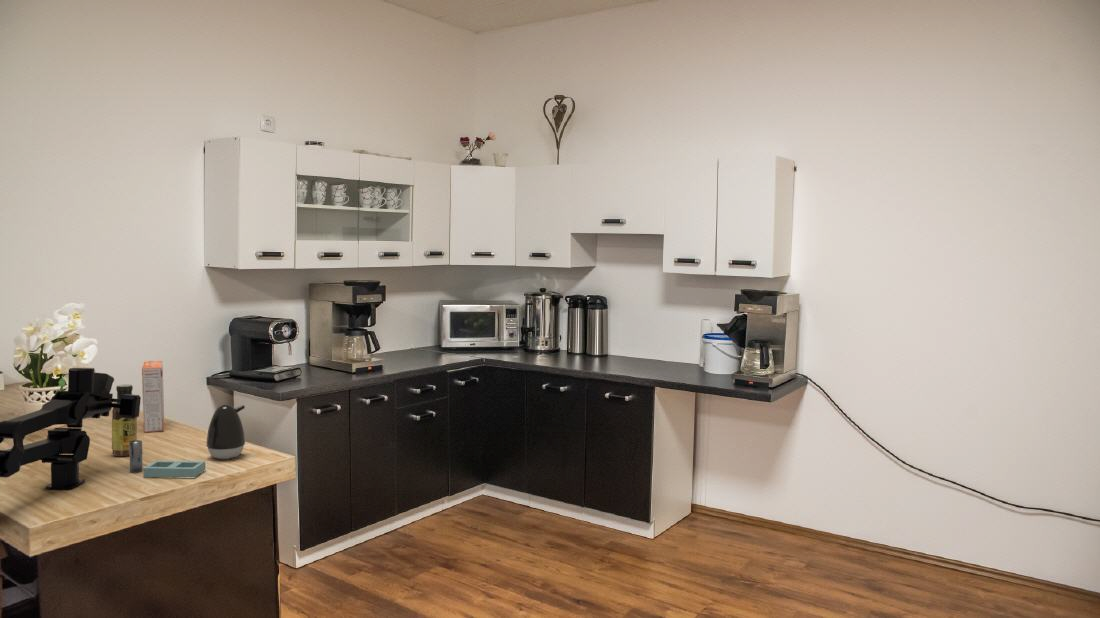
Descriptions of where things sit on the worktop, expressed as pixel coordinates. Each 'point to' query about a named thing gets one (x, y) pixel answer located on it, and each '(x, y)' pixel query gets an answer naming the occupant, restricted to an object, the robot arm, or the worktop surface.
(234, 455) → the pump dispenser
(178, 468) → the pegboard
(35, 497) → the worktop surface
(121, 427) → the sauce bottle
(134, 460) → the peg
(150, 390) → the cracker box
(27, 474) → the worktop surface
